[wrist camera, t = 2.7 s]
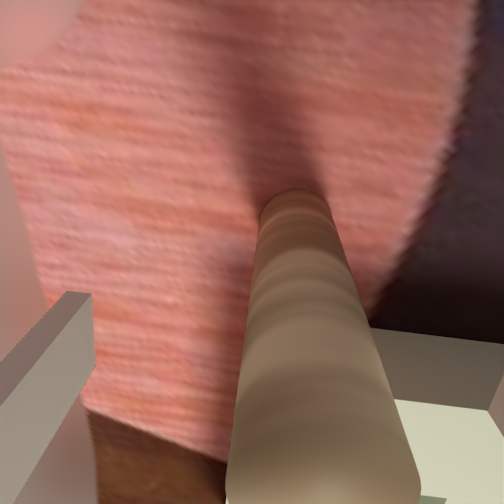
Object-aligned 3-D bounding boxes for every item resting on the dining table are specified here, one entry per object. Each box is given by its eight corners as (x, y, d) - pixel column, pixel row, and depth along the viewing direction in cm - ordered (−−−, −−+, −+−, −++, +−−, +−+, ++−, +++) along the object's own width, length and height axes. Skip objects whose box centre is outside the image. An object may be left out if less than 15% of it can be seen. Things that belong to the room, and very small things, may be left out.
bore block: (248, 312, 26) (240, 380, 20) (545, 349, 26) (617, 427, 20) (225, 508, 33) (214, 596, 28) (455, 537, 33) (490, 632, 28)
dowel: (263, 185, 23) (233, 407, 8) (338, 193, 23) (446, 434, 8) (255, 253, 24) (218, 541, 10) (325, 261, 24) (394, 563, 10)
